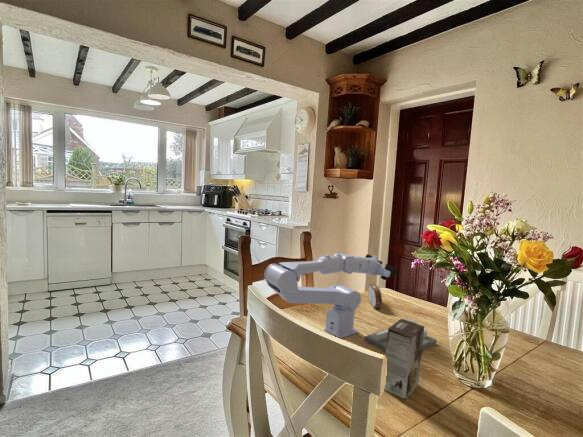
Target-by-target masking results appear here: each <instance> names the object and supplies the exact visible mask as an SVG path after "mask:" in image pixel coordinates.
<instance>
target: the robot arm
mask: <svg viewBox="0 0 583 437" xmlns="http://www.w3.org/2000/svg"><path fill="white" fill-rule="evenodd" d="M316 272H319V273H320V274H321V275H328V274H335V273H341V272H343V273H345V274H348V275H349V274H352V273H355V274H366V275H371V276H380V279H382V280H384V281H387V280H388V279H389V278H391V277H393V276H396V275H397V273H398V269H397V268H394V267H392V266H391V265H390V264H388V263H385V267H384V266H383V261H381V260H379V257H378V256H377V255H370V254H366V255H365V257H364V256H357V255H349V254H344V253H342V252H341V253H340V252H337V253H335V254H334V255H331V254H327V253H325V254H324V256H319V258H318V259H317V260H310V261H308V260H307V261H286V262H285V261H284V262H283V261H282V262H278V263H271V264H269V265H268V266H267V267H266V269H265V270H264V273H263V274H264V275H263V276H264V279H265V282H266V283H267V284H266V285H267V286H268V287H269V288H270V289H271V290H273V291H274V292H275V293H277V295H278V296H280V298H282V299H283V300H284V301H286V302H288V303H289V304H315V305H316V304H319V305H320V304H324V305H325V304H329V305H332V304H333V306H332V307H331V308H330V309H328V311H327V312H326V319H325V320H326V321H325V327H324V328H323V330H324V331H325V332H327V333H329V334H331V335H333V336H334V337H336V338H338V337H339V339H343V338H345V337H348V336H352V335H355V334H359V330H358V329H355V328H354V323H355V313H356V310H357V308H358V307H359V306H360V304H361V303H362V295H361V293H360V292H358V291H356V290H353V289H352V288H349V287H347V286H344V285H343V284H341V283H337V284H335V285H330V286H329V287H316V286H315V287H314V286H313V287H312V286H298V285H299V284H298V282H301V281H300V279H301V276H302V275H306V274H311V273H316Z"/></svg>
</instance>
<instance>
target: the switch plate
mask: <svg viewBox="0 0 583 437" xmlns="http://www.w3.org/2000/svg"><path fill="white" fill-rule="evenodd" d="M389 328H390V327H388V328H385V329H382V330H379V331H377V332H373V333H371V334H368V335H365V336H364V342H365V343H368V344H369V345H372V346H373V347H376V349H379V350H381V351H383V352H384V353H386V347H387V337H388V329H389ZM437 340H438V339H435V338H433V337H432V336H429V335H428V330H426V329H424V333H423V344H422V351H424V350H427V349H429V348H431V347H433V346H435V345H437V342H438V341H437Z"/></svg>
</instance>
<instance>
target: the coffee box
mask: <svg viewBox="0 0 583 437" xmlns="http://www.w3.org/2000/svg"><path fill="white" fill-rule="evenodd" d="M404 319H405V318H400V319H398V321H396V322H394V324H392V325H391V326H389V327H388V328H389V329H388V328H387V329H388V337H387V347H386V352H385V357H386V358H387V376H386V385H385V390H384V391H386V390H387V391H389V392H388V393H390V392H391V393H390V394H392V393H393V394H392V395H394V394H396V395H398V396H400V397H403V398H405V399H406V400H408V398H409V397H410V396H409V395H411V394H412V393H413V391H414V390H416V388H417V386H418V385H419V383H420V382H419V381H420V380H419V379H420V370H421V361H422V353H423V350H422V344H423V333H424V330H425V326H424V325H422V324H419V323H418V324H416V323H413V322H411V321H407V320H404ZM387 391H386V392H387ZM396 395H395V396H396ZM398 396H397V397H398ZM400 397H399V398H400Z"/></svg>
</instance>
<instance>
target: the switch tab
mask: <svg viewBox="0 0 583 437" xmlns="http://www.w3.org/2000/svg"><path fill="white" fill-rule="evenodd" d="M403 319H404V320H407V321H411V322H413V323H416V324H418V325H419V321H416V320H414V319H412V318H409V317H405V318H403Z"/></svg>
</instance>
